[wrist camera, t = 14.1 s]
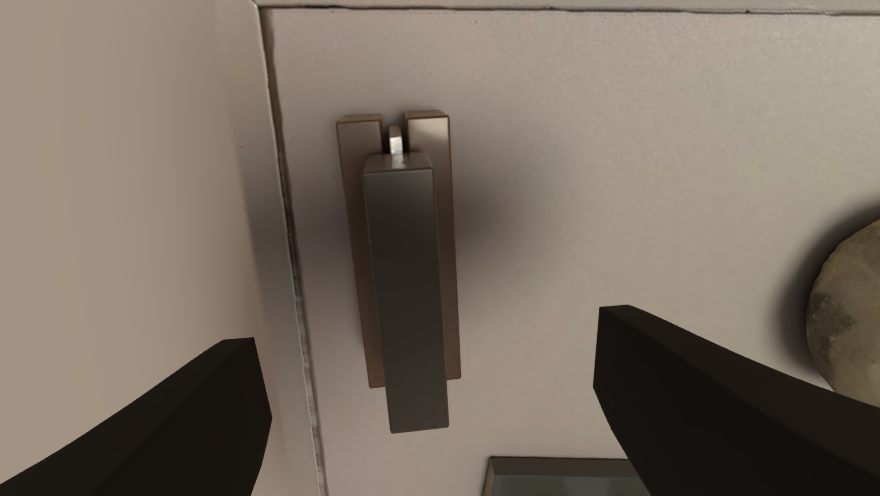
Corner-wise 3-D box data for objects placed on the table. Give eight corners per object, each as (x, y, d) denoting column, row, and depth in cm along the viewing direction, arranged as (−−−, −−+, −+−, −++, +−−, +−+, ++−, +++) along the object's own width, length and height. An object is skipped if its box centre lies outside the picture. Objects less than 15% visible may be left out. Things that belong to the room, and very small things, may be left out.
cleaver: (391, 334, 20) (391, 448, 14) (370, 126, 17) (358, 151, 11) (431, 330, 21) (450, 441, 14) (418, 123, 18) (433, 146, 11)
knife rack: (372, 347, 21) (369, 389, 18) (344, 115, 17) (335, 122, 14) (452, 339, 21) (461, 379, 18) (440, 109, 17) (449, 114, 15)
